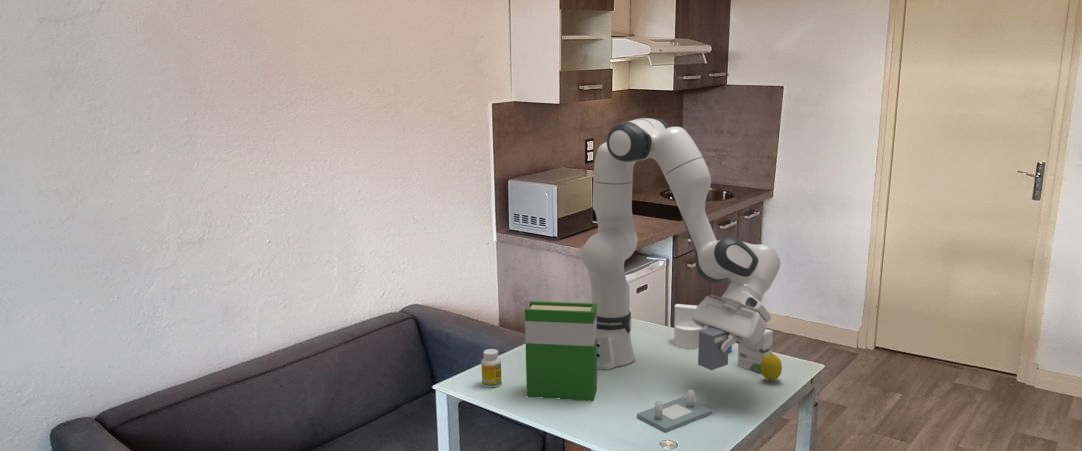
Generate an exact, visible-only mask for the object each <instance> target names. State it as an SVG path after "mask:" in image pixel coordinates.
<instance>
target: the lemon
mask: <svg viewBox="0 0 1082 451" xmlns="http://www.w3.org/2000/svg"><path fill="white" fill-rule="evenodd" d="M782 370H783V366H782V361H781V359H780V357H779V356H777V355H776V354H774V353H773V352H772V353H771V354H768V355H766V356H765V357H764V358H763V359H762V362H761V373H760V374H761V375H762V376H763V378H765V379H766V380H768V382H773V381H774V380H776V379H779V377H780V376H781V374H782Z"/></svg>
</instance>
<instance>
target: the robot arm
mask: <svg viewBox="0 0 1082 451" xmlns="http://www.w3.org/2000/svg"><path fill="white" fill-rule="evenodd" d="M595 154H596V155H595V159H594V167H593V179H592V209H593V211H594V212H595V217H596V222H597V233H594V234H593V235H591V236H590V237H589V238H588V239H587V241H586V242H585V244H584V245H583V247H582V249H581V253H580V254H581V255H580V256H581V260H582V263H583V265H584V266H585V267H586V269H587V273H588V277H589V282H590V291H591V296H590V297H591V298H590V299H591V302H590V303H593V304H597V370H598V369H600V370H611V369H614V368H615V367H616V368H617V367H622V366H625V365H629V364H631V363H633V362H634V361H635V360H636V356H635V353H634V352H635V351H634V349H633V343H632V337H631V331H632V312H631V311H630V307H631V306H630V302H631V300H630V299H631V298H630V296H631V295H630V294H631V292H630V290H631V289H630V285H629V283H628V281H627V278H626V273H625V261H626V260H628V259H629V258H631V257H632V256H633V254H634V253H635V250H636V248H637V246H638V239H639V238H638V234H637V232H636V230H635V224H634V217H633V209H632V208H633V206H632V204H633V203H632V202H633V184H634V183H633V180H634V179H633V177H634V176H633V174H634V166H635V164H636V163H637V162H638V161H644V160H647V159H649V158H650V159H653V160H654V161H655V162H656V163H658V166H659V168H660V169H661V171H662V173H663V176H664V178H665V181H666V182H667V184H668V186H669V188H670V191H671V193H672V195H673V197H674V200H675V202H676V205H677V208H678V210H679V214H680V215H681V216H680V217H681V218H682V221H683V224H684V226H685V229H686V231H687V234H688V236H689V239H690V242H691V243H692V247H693V251H694V260H695V262H694V263H695V268H696V270H697V273H698V274H699V275H700V276H701V277H702V279H704V280H706V281H707V282H710V283H714V284H718V283H721V282H725V281H726V280H727V279H730V283H729V285H728V287H727V288H726V290H725V292H724V293H723V294H722V296H721V295H717V294H715V293H714V294H713V293H712V294H709V295H707V296H705V297H704V298H703V300H702V301H701V302H700V303H699V304H698V305H696V306H697V308H696V309H695V310H694V312H693V313H692V315H691V317H692V320H693V321H694V322H695V324H697V325H698V326H701V327H703V330H704V329H708V328H711V327H714V328H717V329H720V330H722V331H725V332H728V333H729V336H728V338H729V339H727V340H726V341H725V342H720V344H719V346H718V349H719V350H720V351H722V352H726V350H727V349H728V347H730V346H732V347H733V345H735V344H736V343H737V341H738V340H740V341H743V342H746V343H748V344H751V345H755V344H757V343H758V342H759V341H760V339H761V338H762V336H763V334H764V332H765V330H766V329H767V327H768V324H767V323H769V322H770V321H771V319H772V315H771V314H770V312H769V310H768V309H767V308H766V307H765V306H764V304H762V300H763V297H764V294H765V293H766V292H767V291H768V290H770V287H771V286H772V284H773V282H774V281H775V279H776V277H777V275H778V273H779V271H780V267H781V259H780V257H779V256H780V255H778V253H777V252H776V251H775V250H774V249H773V248H772V247H770V246H768V245H767V244H762V243H761V244H755V243H754V244H753V243H749V242H746V241H743V240H741V239H740V238H737V237H733V236H727V237H724V238H723V237H722V238H721V239H719V240H717V238H716V236H715V233H714V231H713V228H712V225H711V224H710V223H711V222H710V221H709V219H708V216H707V211H706V200H707V196H708V194H709V191H710V188H711V184H712V177H711V174H710V169H709V167H708V165H707V162H706V160H705V159H704V157H703V155H702V153H701V151H700V149H699V148H698V146H697V144H696V143H695V141H694V140H693V138H692V137H691V136H690V134H689V133H688V131H687V130H686V129H684V128H683V127H681V126H670V125H669V124H668V123H667V122H666V121H664V120H662V119H660V118H657V117H647V118H646V117H645V118H644V117H642V118H641V117H640V118H635V119H633V120H629V121H621V122H620V123H618V124H616V125H615V126H613V127H612V128H611V129H610V130H609V131H608V134H607V137H606V142H604V143H603V142H602V144H600V146H599V147H598V149H597V151H596V153H595Z"/></svg>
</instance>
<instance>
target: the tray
mask: <svg viewBox="0 0 1082 451" xmlns="http://www.w3.org/2000/svg"><path fill="white" fill-rule="evenodd" d="M712 414H713V409H711V408H708V407H706V406H705V405H702V404H700V403H697V402H695V390H694V389H687V391H686V397H684V396H681V397H679V398H676V399H674V400H671V401H670V400H669V401H667V402H665V403H663V402H662V401H660V400H658V401H655V402H654V407H651V408H649V409H647V410H643V411H641V412H638V413H637V414H636V418H637V419H639V420H640V421H643V422H645V423H647V424H649V425H650V426H652V427H655V428H656V429H658V430H660V431H662V432H664V433H668V432H671V431H672V430H675V429H678V428H681V427H683V426H685V425H687V424H690V423H693V422H695V421H698V420H700V419H703V418H706V417H708V416H710V415H712Z"/></svg>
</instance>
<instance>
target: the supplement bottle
mask: <svg viewBox="0 0 1082 451" xmlns="http://www.w3.org/2000/svg"><path fill="white" fill-rule="evenodd" d="M482 356H483V358H482V359H481V362H480V363H481V384H482V386H483V385H484V386H486V387H496V388H498V387H500V386H501V385H502V381H503V380H502V360H501V358H500V357H499V350H498V349H496V348H487V349H485V350H484V351H483V355H482ZM499 385H500V386H499ZM484 386H483V387H484ZM497 386H498V387H497ZM486 387H485V388H486Z"/></svg>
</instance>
